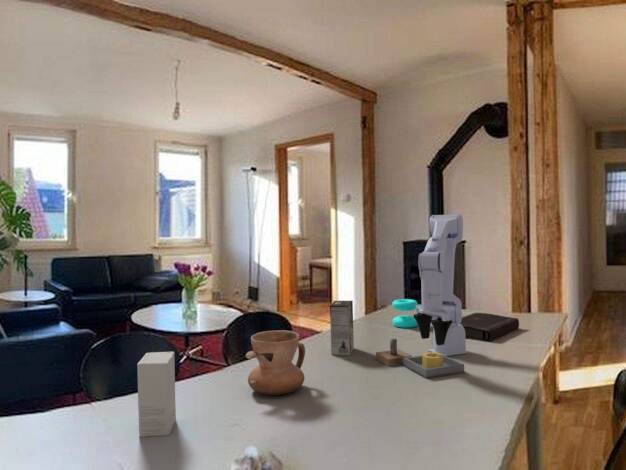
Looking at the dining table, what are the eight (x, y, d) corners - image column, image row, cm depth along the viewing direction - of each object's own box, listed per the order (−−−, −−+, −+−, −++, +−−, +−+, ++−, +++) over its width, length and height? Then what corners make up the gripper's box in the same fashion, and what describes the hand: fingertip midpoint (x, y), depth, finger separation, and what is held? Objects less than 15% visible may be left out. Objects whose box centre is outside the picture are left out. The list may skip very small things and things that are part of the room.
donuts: (390, 298, 203) (415, 298, 203) (390, 323, 203) (415, 322, 203) (394, 303, 193) (420, 302, 193) (394, 328, 193) (420, 328, 193)
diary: (519, 331, 188) (519, 317, 188) (491, 344, 170) (491, 330, 170) (473, 323, 201) (473, 311, 201) (441, 335, 183) (441, 321, 183)
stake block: (398, 355, 157) (398, 335, 156) (412, 362, 149) (411, 341, 149) (375, 358, 154) (375, 337, 154) (388, 366, 146) (387, 344, 146)
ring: (435, 363, 146) (435, 351, 146) (446, 368, 141) (446, 356, 140) (419, 365, 144) (419, 353, 144) (429, 371, 139) (429, 358, 139)
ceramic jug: (263, 406, 118) (261, 346, 117) (233, 390, 129) (231, 336, 129) (323, 388, 129) (321, 334, 128) (290, 375, 140) (289, 325, 140)
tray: (439, 361, 150) (439, 353, 150) (464, 372, 139) (464, 364, 138) (403, 366, 146) (403, 357, 146) (426, 378, 135) (426, 369, 134)
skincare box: (148, 421, 111) (145, 352, 110) (178, 419, 111) (175, 350, 111) (138, 438, 103) (135, 363, 102) (171, 436, 103) (168, 361, 102)
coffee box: (335, 347, 168) (334, 300, 168) (354, 348, 167) (353, 300, 167) (330, 355, 160) (329, 305, 159) (350, 355, 158) (349, 305, 158)
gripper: (406, 291, 147) (407, 337, 148) (433, 299, 133) (434, 349, 134) (427, 289, 149) (427, 334, 150) (456, 296, 136) (457, 346, 136)
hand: (432, 341), depth 142 cm, fingers open, 7 cm apart
